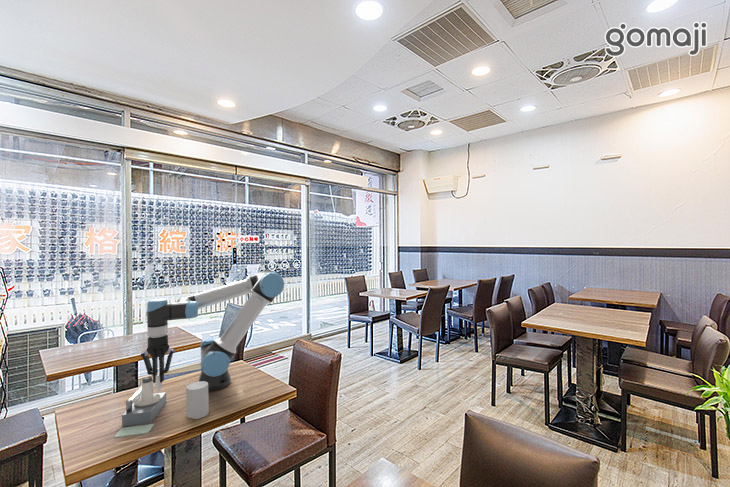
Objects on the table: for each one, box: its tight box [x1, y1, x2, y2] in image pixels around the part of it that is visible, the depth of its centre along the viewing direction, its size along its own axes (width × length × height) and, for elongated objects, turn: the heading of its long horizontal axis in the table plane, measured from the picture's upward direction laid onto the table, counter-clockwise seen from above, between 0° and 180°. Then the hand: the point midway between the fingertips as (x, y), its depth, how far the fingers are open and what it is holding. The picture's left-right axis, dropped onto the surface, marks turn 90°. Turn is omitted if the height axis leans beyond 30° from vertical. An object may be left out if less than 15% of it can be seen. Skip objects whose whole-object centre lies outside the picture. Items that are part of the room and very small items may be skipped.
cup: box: [185, 381, 210, 420], centre depth 139 cm, size 8×8×12 cm
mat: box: [113, 423, 155, 439], centre depth 126 cm, size 11×6×1 cm, turn 104°
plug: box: [134, 376, 161, 407], centre depth 139 cm, size 9×9×14 cm
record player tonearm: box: [125, 386, 141, 412], centre depth 139 cm, size 2×16×4 cm, turn 14°
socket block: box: [121, 391, 167, 428], centre depth 139 cm, size 10×18×5 cm, turn 14°
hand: (158, 389), depth 145 cm, fingers closed
